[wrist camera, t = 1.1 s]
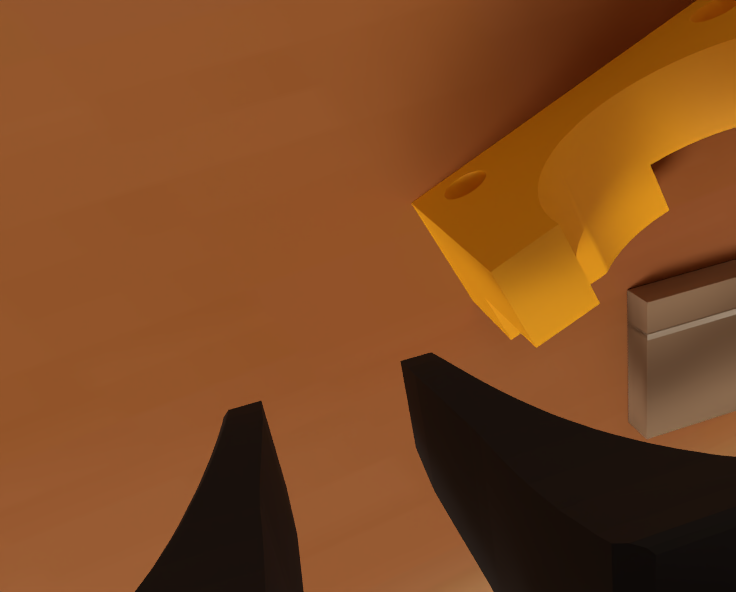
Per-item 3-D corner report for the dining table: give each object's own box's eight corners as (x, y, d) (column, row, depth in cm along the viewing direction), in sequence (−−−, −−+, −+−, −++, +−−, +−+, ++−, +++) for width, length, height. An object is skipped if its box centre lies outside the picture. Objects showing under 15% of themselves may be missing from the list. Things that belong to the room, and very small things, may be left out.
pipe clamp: (471, 299, 23) (563, 394, 18) (409, 201, 22) (490, 271, 16) (757, 98, 23) (946, 127, 17) (720, -20, 21) (920, -31, 15)
